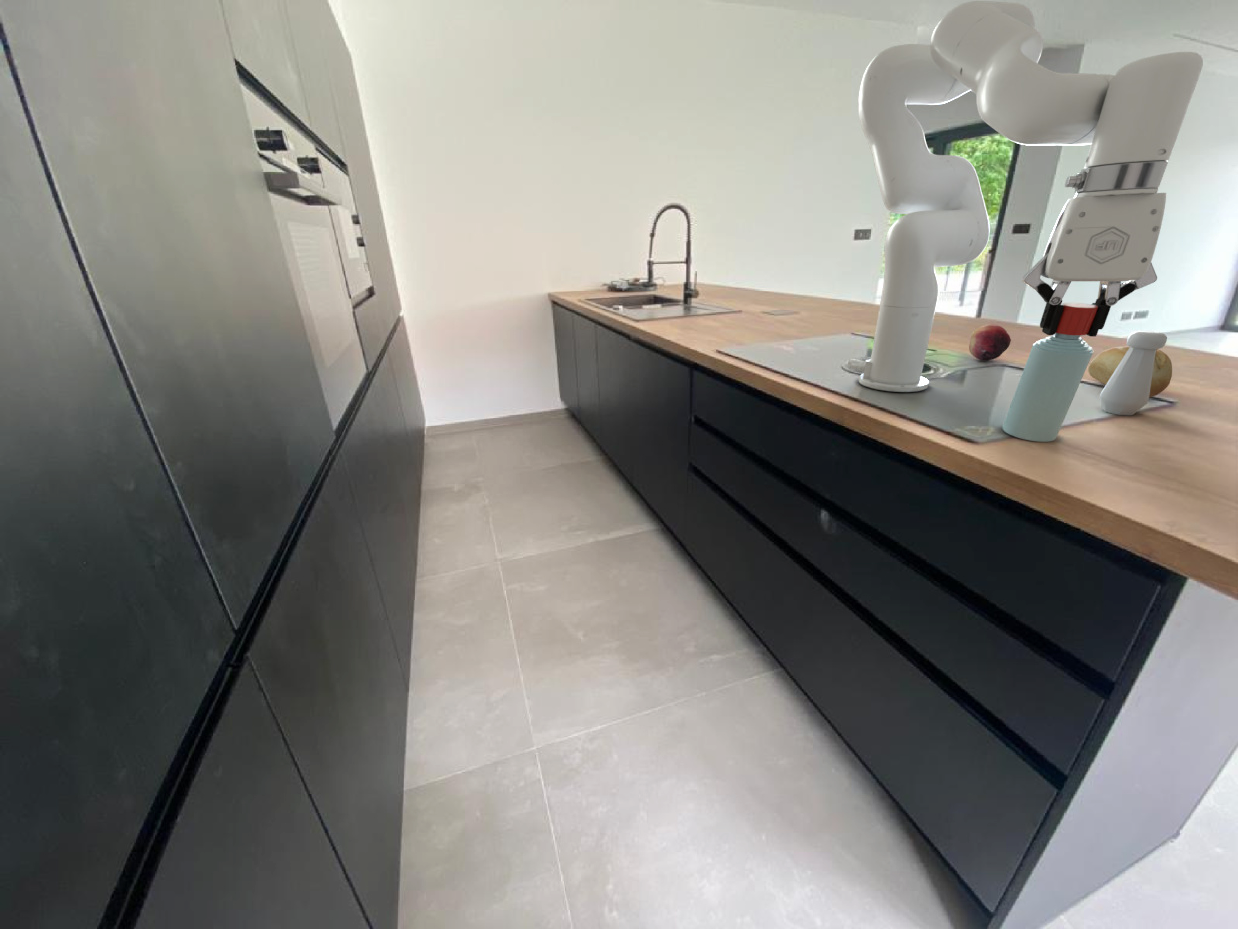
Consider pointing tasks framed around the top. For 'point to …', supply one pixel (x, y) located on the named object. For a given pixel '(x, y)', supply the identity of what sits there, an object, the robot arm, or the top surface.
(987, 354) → the fruit
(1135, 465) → the top surface
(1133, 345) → the salt shaker
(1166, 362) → the potato
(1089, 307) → the cap
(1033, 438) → the bottle
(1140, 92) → the robot arm
